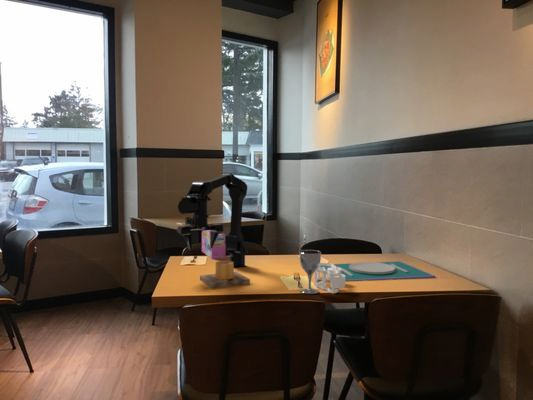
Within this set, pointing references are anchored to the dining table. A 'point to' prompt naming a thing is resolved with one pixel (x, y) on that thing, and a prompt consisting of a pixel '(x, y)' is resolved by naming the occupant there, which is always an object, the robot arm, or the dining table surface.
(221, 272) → the notched tan hollow cylinder
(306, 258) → the wine glass
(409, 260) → the dining table surface
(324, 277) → the clear lumpy piece
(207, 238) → the gum box
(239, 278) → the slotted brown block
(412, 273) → the place mat
